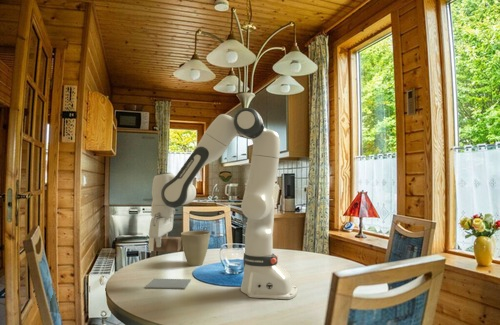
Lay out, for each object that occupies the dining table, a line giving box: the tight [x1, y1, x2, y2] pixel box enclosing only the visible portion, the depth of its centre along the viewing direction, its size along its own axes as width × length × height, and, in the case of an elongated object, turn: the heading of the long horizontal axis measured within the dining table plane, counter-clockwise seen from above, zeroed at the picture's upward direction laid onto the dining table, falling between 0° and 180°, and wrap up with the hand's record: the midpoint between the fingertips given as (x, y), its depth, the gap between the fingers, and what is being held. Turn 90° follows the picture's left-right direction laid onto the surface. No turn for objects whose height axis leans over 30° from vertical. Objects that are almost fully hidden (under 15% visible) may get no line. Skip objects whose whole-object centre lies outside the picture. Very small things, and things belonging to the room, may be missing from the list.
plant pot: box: [180, 230, 211, 267], centre depth 171 cm, size 15×15×16 cm
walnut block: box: [148, 236, 182, 253], centre depth 138 cm, size 5×5×12 cm
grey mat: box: [144, 278, 191, 290], centre depth 138 cm, size 16×11×1 cm
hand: (161, 245), depth 138 cm, fingers closed on walnut block, 5 cm apart
